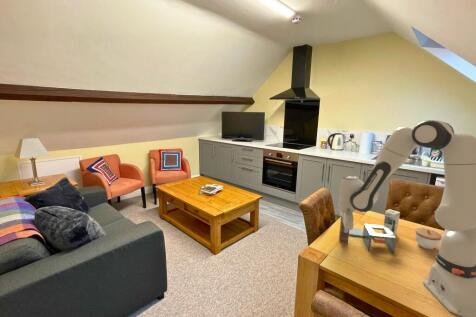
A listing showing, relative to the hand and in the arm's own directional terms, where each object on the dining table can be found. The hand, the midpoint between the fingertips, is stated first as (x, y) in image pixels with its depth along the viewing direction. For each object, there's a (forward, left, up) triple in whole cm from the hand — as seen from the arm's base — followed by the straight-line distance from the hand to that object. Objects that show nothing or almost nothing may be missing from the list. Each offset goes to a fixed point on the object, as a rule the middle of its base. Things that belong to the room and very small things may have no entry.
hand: (344, 228), depth 130 cm
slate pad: (+11, -8, -8) cm, 16 cm away
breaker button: (0, -17, -5) cm, 18 cm away
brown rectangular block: (0, 0, -8) cm, 8 cm away
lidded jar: (+6, -42, -8) cm, 43 cm away
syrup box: (+14, -27, -8) cm, 31 cm away
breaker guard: (0, -17, -8) cm, 19 cm away
